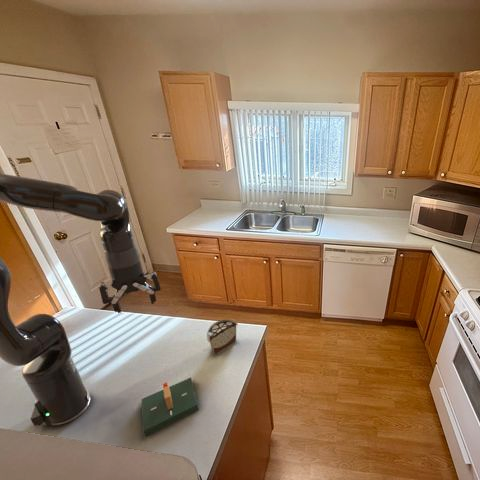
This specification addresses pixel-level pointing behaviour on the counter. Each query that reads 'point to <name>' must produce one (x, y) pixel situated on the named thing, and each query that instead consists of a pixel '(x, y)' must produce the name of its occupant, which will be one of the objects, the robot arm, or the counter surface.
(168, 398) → the handle
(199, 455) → the counter surface
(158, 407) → the panel
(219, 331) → the cake slice
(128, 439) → the counter surface
